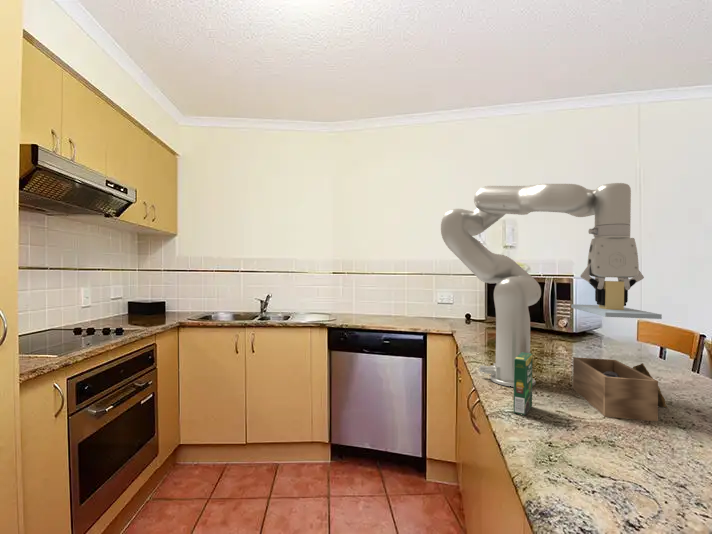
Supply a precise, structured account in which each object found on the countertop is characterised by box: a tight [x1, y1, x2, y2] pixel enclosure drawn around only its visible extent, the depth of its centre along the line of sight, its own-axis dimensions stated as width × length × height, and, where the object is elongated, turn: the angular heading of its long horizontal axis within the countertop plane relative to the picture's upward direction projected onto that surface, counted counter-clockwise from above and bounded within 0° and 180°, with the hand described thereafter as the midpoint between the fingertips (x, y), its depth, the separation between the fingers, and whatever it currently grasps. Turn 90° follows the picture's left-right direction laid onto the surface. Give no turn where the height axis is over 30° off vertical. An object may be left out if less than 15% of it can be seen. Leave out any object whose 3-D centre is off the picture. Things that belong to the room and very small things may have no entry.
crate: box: [572, 356, 659, 422], centre depth 94 cm, size 11×21×9 cm, turn 167°
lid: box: [571, 280, 663, 320], centre depth 94 cm, size 11×21×8 cm, turn 168°
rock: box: [632, 363, 669, 409], centre depth 98 cm, size 11×9×10 cm
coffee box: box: [513, 352, 534, 416], centre depth 88 cm, size 8×3×13 cm, turn 144°
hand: (611, 304), depth 94 cm, fingers closed on lid, 4 cm apart
